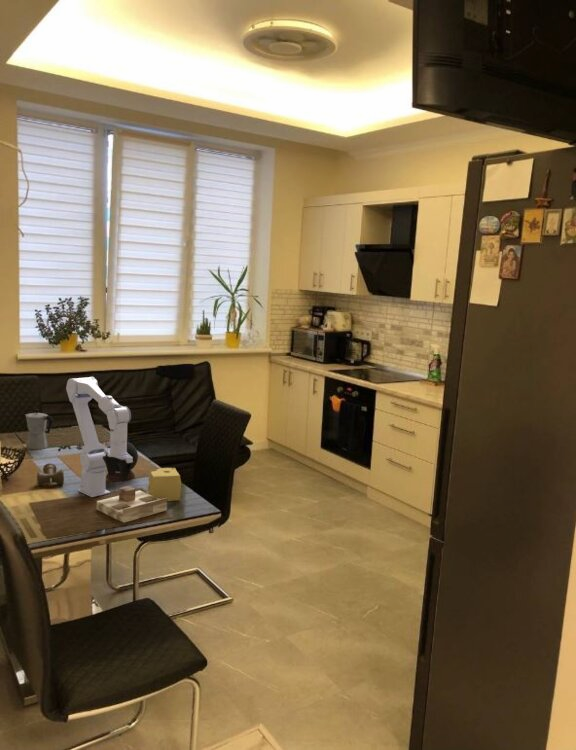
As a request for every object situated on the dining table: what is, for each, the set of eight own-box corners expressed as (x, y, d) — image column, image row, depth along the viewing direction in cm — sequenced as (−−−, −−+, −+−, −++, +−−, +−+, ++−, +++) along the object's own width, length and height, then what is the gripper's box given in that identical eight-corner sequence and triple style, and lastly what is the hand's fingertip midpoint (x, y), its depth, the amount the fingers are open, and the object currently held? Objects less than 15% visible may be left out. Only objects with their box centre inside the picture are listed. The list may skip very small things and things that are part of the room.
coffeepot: (18, 447, 288) (18, 408, 285) (32, 442, 296) (32, 405, 294) (45, 452, 283) (45, 413, 280) (59, 447, 291) (59, 409, 289)
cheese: (147, 493, 238) (148, 468, 236) (175, 491, 241) (176, 466, 240) (151, 503, 228) (152, 476, 226) (180, 501, 232) (181, 475, 230)
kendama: (62, 475, 255) (64, 489, 236) (37, 477, 251) (37, 491, 233) (62, 460, 254) (64, 474, 235) (36, 462, 250) (36, 476, 232)
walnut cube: (118, 499, 221) (119, 488, 221) (128, 496, 224) (128, 485, 224) (125, 502, 219) (125, 491, 218) (135, 499, 222) (135, 488, 221)
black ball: (96, 478, 251) (97, 441, 249) (118, 470, 263) (119, 435, 261) (123, 484, 246) (123, 447, 244) (144, 475, 258) (145, 440, 256)
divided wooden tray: (96, 509, 218) (96, 497, 218) (139, 498, 232) (139, 486, 231) (123, 522, 208) (123, 509, 207) (166, 510, 222) (167, 498, 221)
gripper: (97, 438, 224) (96, 474, 226) (120, 447, 215) (119, 485, 217) (114, 435, 229) (113, 471, 231) (138, 443, 220) (136, 481, 222)
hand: (117, 477), depth 224 cm, fingers open, 7 cm apart
